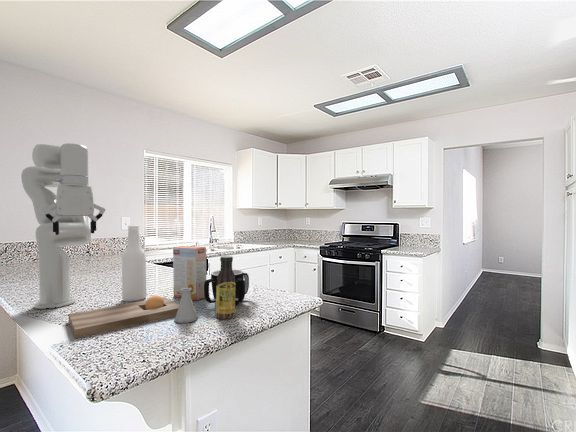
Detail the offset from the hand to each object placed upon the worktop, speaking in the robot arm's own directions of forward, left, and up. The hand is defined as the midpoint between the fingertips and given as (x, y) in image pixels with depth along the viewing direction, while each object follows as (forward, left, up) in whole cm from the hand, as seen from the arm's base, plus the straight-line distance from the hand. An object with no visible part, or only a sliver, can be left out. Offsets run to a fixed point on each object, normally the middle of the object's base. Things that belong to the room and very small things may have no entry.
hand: (75, 233), depth 101 cm
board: (+11, +13, -28) cm, 33 cm away
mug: (+19, +46, -28) cm, 57 cm away
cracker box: (0, +39, -28) cm, 48 cm away
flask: (+26, +27, -28) cm, 47 cm away
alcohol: (-13, +21, -28) cm, 37 cm away
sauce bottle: (+32, +38, -28) cm, 57 cm away
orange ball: (+11, +21, -25) cm, 35 cm away
